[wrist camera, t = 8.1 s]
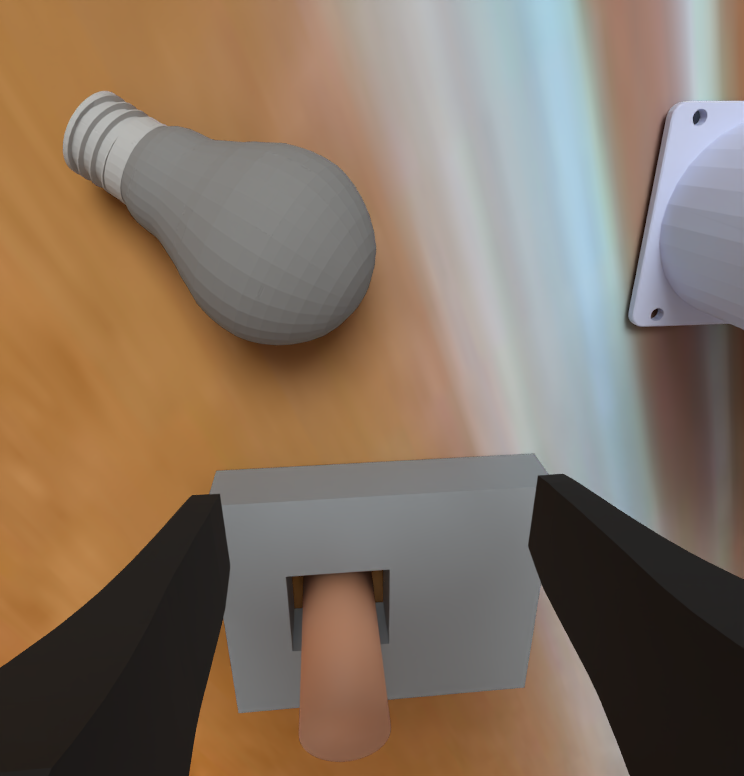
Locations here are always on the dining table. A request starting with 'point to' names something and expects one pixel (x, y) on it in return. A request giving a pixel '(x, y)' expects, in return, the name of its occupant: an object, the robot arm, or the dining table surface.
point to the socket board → (385, 569)
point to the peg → (341, 669)
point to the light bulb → (235, 219)
